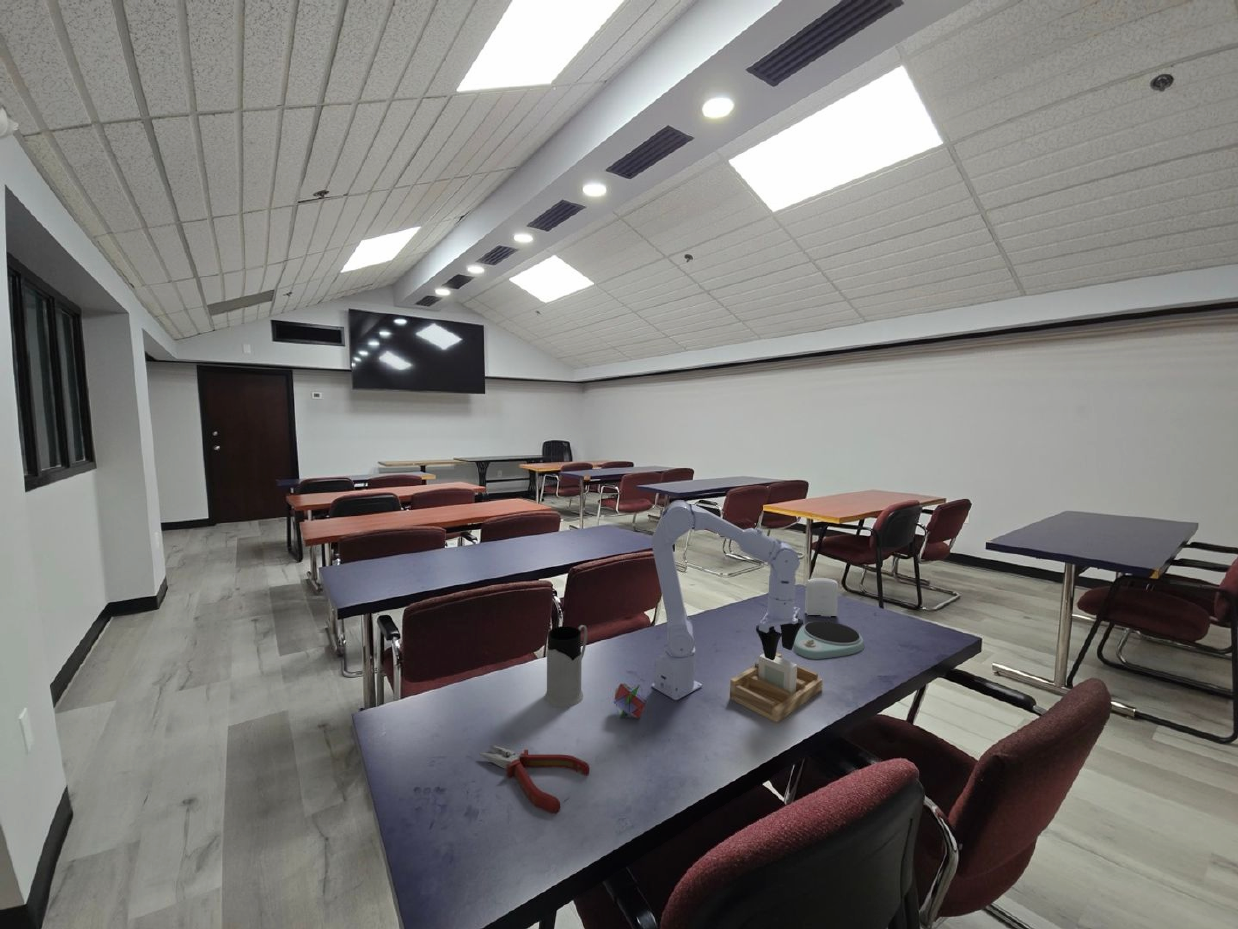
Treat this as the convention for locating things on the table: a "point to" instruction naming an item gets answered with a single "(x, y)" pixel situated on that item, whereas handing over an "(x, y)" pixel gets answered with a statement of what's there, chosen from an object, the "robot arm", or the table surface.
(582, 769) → the pliers
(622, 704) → the geometric puzzle
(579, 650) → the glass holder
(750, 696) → the wooden compartment tray
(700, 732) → the table surface
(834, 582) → the photo printer
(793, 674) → the white rectangular box
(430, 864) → the table surface
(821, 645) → the electric hot plate
